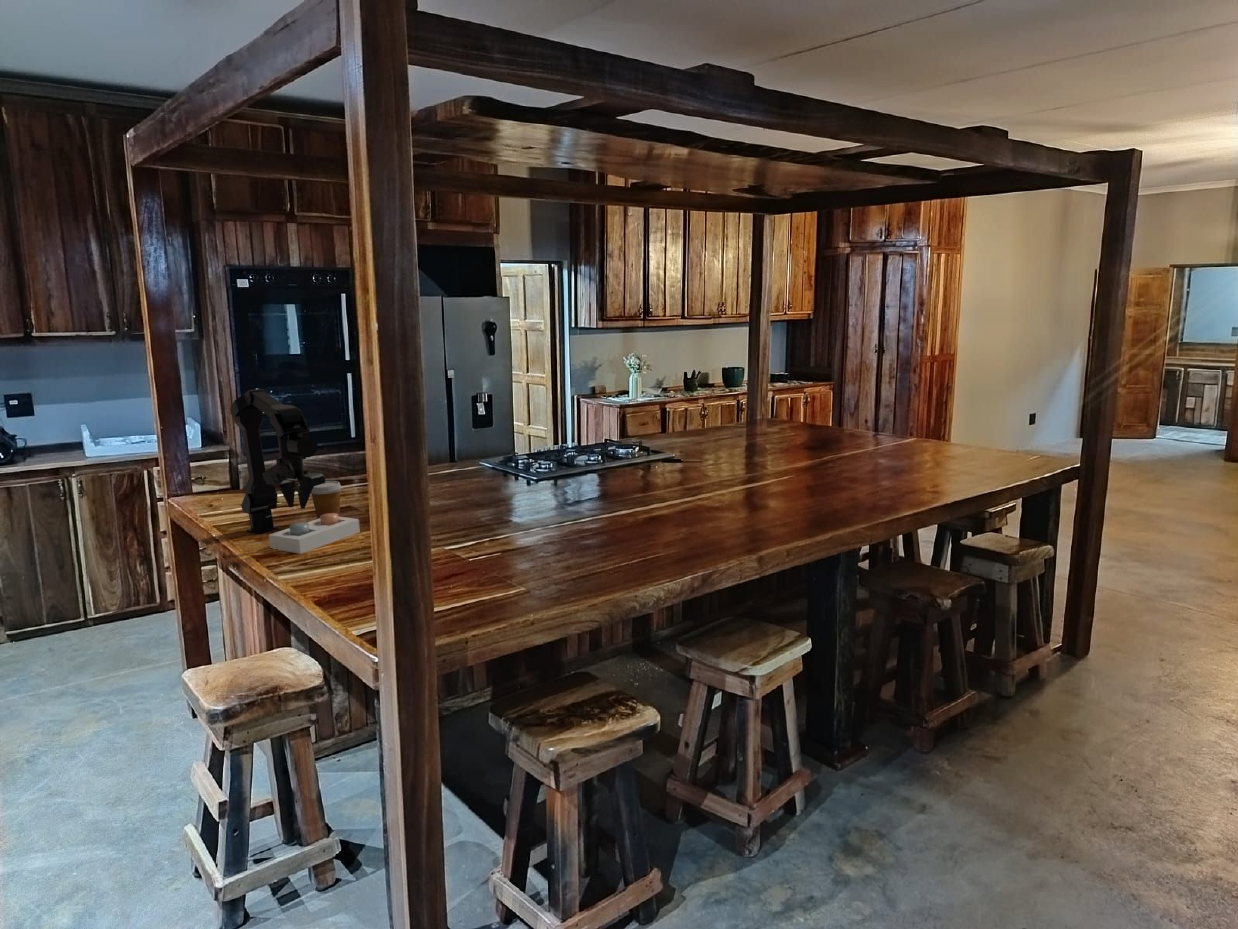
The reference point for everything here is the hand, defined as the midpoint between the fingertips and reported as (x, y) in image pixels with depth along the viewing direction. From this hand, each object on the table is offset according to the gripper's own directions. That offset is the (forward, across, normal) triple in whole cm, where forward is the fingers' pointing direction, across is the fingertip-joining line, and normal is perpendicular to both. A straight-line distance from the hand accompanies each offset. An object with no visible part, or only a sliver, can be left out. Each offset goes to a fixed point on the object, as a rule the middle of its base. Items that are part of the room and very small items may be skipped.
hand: (297, 507), depth 234 cm
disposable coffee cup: (+11, -12, +22) cm, 27 cm away
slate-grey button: (+8, 0, 0) cm, 8 cm away
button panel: (+11, 0, +6) cm, 12 cm away
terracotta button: (+8, 0, +11) cm, 14 cm away
